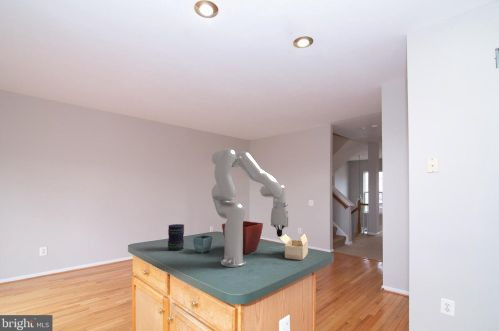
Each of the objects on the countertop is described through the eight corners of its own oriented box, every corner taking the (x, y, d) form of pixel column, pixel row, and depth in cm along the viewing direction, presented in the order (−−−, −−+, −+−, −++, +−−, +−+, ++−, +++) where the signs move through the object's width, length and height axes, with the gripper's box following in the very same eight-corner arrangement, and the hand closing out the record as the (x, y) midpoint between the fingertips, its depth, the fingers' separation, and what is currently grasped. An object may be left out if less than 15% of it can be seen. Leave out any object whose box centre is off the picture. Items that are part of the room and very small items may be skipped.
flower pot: (212, 251, 151) (213, 236, 152) (202, 254, 143) (203, 238, 144) (202, 249, 156) (202, 234, 156) (192, 252, 148) (192, 237, 149)
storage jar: (186, 247, 159) (187, 224, 160) (178, 251, 149) (179, 226, 151) (172, 246, 161) (173, 223, 162) (164, 250, 152) (165, 226, 153)
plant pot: (245, 257, 138) (245, 227, 139) (220, 251, 149) (220, 223, 150) (263, 250, 153) (263, 223, 154) (240, 245, 164) (240, 220, 166)
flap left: (279, 238, 139) (279, 238, 139) (285, 243, 138) (284, 244, 138) (285, 233, 152) (285, 234, 152) (291, 239, 150) (290, 239, 150)
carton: (302, 260, 132) (302, 247, 132) (284, 258, 136) (284, 245, 136) (308, 252, 147) (307, 240, 148) (291, 250, 151) (291, 239, 152)
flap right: (302, 245, 134) (303, 245, 134) (299, 238, 135) (300, 237, 135) (306, 240, 146) (307, 240, 146) (304, 233, 147) (305, 233, 147)
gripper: (292, 205, 148) (293, 236, 147) (269, 204, 154) (269, 234, 153) (289, 206, 142) (290, 238, 140) (265, 205, 147) (265, 236, 146)
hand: (279, 236), depth 146 cm, fingers closed
